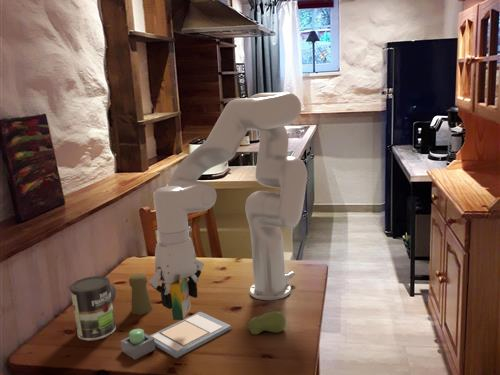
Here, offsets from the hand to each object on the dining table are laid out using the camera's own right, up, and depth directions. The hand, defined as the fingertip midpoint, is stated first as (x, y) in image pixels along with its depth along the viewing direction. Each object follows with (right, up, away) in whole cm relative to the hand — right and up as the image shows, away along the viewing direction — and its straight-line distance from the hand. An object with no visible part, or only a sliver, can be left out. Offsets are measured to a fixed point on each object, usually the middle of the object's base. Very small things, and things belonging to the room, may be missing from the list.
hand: (180, 301), depth 130 cm
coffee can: (-24, -10, +9) cm, 28 cm away
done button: (-10, -10, -3) cm, 15 cm away
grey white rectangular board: (+2, -10, +3) cm, 10 cm away
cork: (-14, -7, +20) cm, 25 cm away
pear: (+22, -9, +3) cm, 24 cm away
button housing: (-10, -12, -2) cm, 16 cm away
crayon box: (0, -3, +1) cm, 4 cm away
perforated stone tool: (-26, -8, +22) cm, 35 cm away
